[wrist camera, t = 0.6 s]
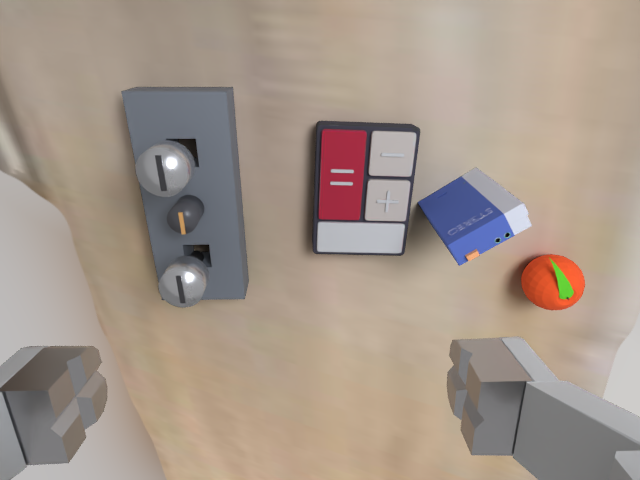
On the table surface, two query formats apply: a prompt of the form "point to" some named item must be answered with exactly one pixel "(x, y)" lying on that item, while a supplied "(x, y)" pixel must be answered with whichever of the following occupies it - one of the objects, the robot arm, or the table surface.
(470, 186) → the walkman
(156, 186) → the knob
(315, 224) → the calculator
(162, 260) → the panel
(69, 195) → the table surface
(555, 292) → the clementine
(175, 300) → the knob
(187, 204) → the dial
